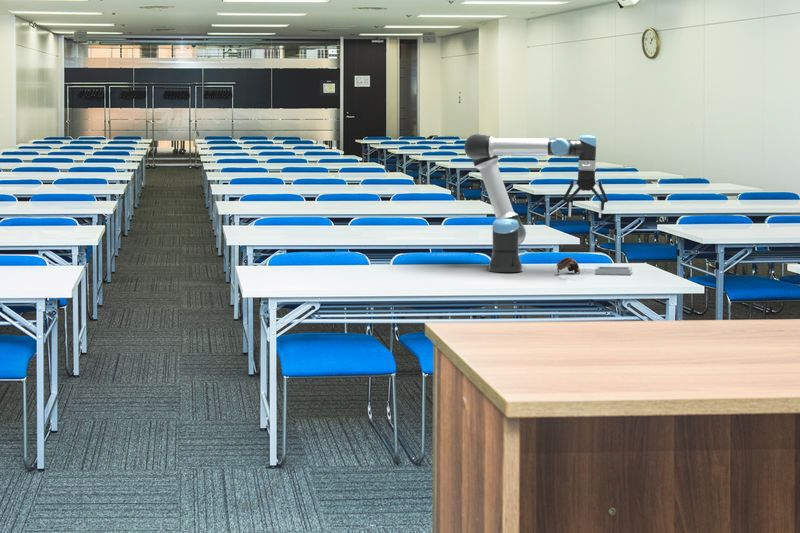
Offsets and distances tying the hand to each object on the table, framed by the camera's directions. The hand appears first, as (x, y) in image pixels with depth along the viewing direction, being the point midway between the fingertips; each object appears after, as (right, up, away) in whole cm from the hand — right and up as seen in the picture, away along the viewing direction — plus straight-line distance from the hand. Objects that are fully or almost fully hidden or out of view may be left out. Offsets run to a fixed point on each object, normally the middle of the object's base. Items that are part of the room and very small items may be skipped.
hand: (584, 217), depth 487 cm
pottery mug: (-7, -27, -9) cm, 29 cm away
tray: (+11, -26, -10) cm, 29 cm away
